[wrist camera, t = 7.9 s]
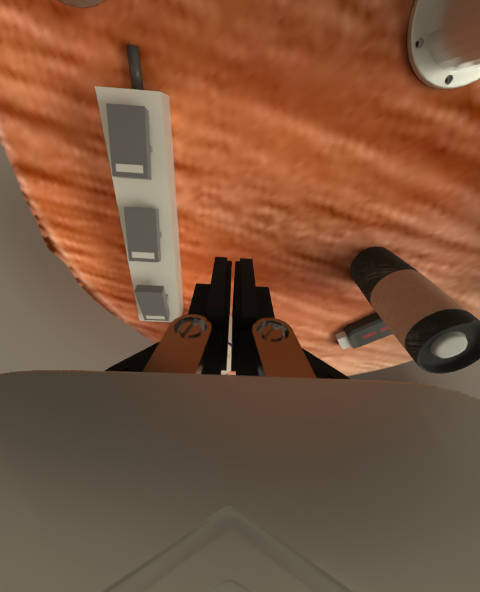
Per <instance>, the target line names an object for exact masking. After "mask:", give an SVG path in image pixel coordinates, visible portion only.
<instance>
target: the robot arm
mask: <svg viewBox="0 0 480 592" xmlns="http://www.w3.org/2000/svg"><path fill="white" fill-rule="evenodd" d="M416 43H417V46H415V44H416ZM407 49H408V56H409V61H410V64H411V66H412V69H413V71H414V72H415V74H416V76H417V77H418V78H419V79H420V80H421V81H422V82H423V83H424V84H426V85H428V86H430V87H432V88H436V89H442V90H444V89H454V88H458V87H462V86H465V85H468V84H470V83H472V82H475V81H476V80H478V79H480V0H415V1H414V5H413V8H412V11H411V15H410V19H409V25H408V32H407ZM445 79H446V80H445ZM231 267H232V261H227V258H225V257H215V262H214V268H213V274H212V280H211V284H196V286H195V290H194V294H193V298H192V302H191V305H190V309H189V313H188V315H183V316H181V317H178V318H176V319H175V320H173V322H172V323H171V324H170V326H169V327H168V329H167V331H166V332H165V334H164V336H163V338H162V339H161V341H160V342H158V343H156V344H154V345H152V346H150V347H148V348H146V349H145V350H143V351H141V352H139V353H137V354H135V355H133V356H131V357H129V358H127V359H125V360H123V361H121V362H119V363H117V364H115V365H114V366H112V367H110V368H108V369H107V370H105V371H85V370H33V371H18V372H10V373H3V374H0V592H480V398H477V397H474V396H470V395H468V394H464V393H462V392H459V391H455V390H450V389H446V388H441V387H436V386H431V385H424V384H417V383H403V382H390V381H373V380H351V379H349V378H348V377H347V376H345V375H344V374H342V373H341V372H339V371H338V370H336V369H334V368H333V367H331V366H330V365H328V364H326V363H325V362H323V361H322V360H320V359H318V358H317V357H315V356H314V355H312V354H311V353H309V352H307V351H306V350H304V349H303V348H301V346H300V344H299V342H298V340H297V338H296V336H295V334H294V332H293V330H292V328H291V327H290V326H289V325H288V324H287V323H286V322H284V321H282V320H279V319H275V317H274V312H273V307H272V302H271V297H270V292H269V288H268V287H256V286H255V278H254V269H253V261H252V259H243V258H240V261H236V262H235V277H234V294H233V311H232V347H231V371H236V375H221V371H227V354H228V335H229V317H230V293H231Z"/></svg>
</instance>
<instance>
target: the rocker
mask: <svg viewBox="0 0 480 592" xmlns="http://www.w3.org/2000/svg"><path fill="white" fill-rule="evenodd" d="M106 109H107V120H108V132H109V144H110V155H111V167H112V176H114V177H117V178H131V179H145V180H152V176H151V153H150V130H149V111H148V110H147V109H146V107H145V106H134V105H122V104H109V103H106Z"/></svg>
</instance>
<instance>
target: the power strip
mask: <svg viewBox="0 0 480 592" xmlns="http://www.w3.org/2000/svg"><path fill="white" fill-rule="evenodd" d="M127 51H128V59H129V66H130V74H131V82H132V89H124V88H112V87H99V86H95V91H96V96H97V101H98V106H99V111H100V117H101V122H102V127H103V132H104V138H105V143H106V148H107V153H108V159H109V164H110V169H111V174H112V167H111V155H110V144H109V132H108V120H107V109H106V103H109V104H122V105H134V106H145V107H146V109H147V110H148V111H149V130H150V153H151V176H152V180H145V179H131V178H117V177H114V176H112V180H113V185H114V190H115V195H116V201H117V206H118V211H119V216H120V222H121V227H122V232H123V237H124V242H125V248H126V253H127V258H128V263H129V269H130V274H131V279H132V284H133V290H134V291H135V288H136V286H137V285H152V286H164V289H165V294H166V298H167V303H168V307H169V312H170V317H169V321H156V320H144V318H143V315H142V312H141V309H140V306H139V303H138V301H137V298H136V295H135V292H134V295H135V300H136V305H137V311H138V316H139V321H155V322H173V320H175V319H176V318H178V317H181V316H182V313H183V310H184V306H183V291H182V276H181V262H180V247H179V232H178V218H177V203H176V188H175V174H174V159H173V144H172V130H171V115H170V100H169V95H167V94H165V93H163V92H160V91H148V90H143V83H142V74H141V65H140V56H139V47H137V46H134V45H127ZM124 207H143V208H159V227H160V247H161V261H160V262H140V261H129V257H128V246H127V236H126V226H125V215H124Z"/></svg>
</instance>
